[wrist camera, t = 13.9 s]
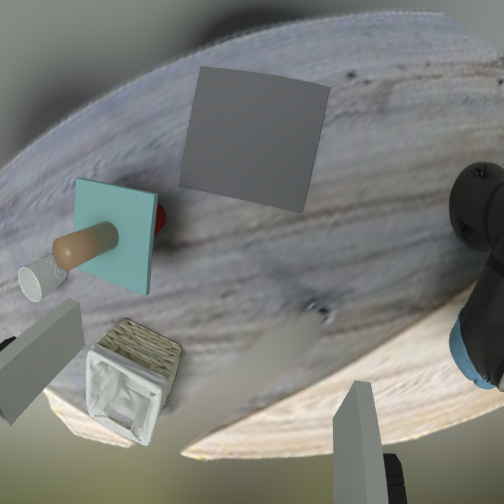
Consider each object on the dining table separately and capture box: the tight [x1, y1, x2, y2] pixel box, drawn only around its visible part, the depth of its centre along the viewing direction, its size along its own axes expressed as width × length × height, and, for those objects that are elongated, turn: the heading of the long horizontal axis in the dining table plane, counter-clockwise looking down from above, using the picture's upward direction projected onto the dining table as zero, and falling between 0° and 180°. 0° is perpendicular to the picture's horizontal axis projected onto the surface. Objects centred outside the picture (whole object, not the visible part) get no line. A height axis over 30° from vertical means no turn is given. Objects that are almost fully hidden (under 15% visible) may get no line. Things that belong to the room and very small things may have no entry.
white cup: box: [18, 254, 68, 302], centre depth 54 cm, size 8×8×10 cm
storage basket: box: [86, 319, 182, 446], centre depth 56 cm, size 24×16×15 cm
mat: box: [179, 67, 330, 213], centre depth 43 cm, size 20×20×1 cm
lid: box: [52, 178, 159, 296], centre depth 35 cm, size 14×14×10 cm
